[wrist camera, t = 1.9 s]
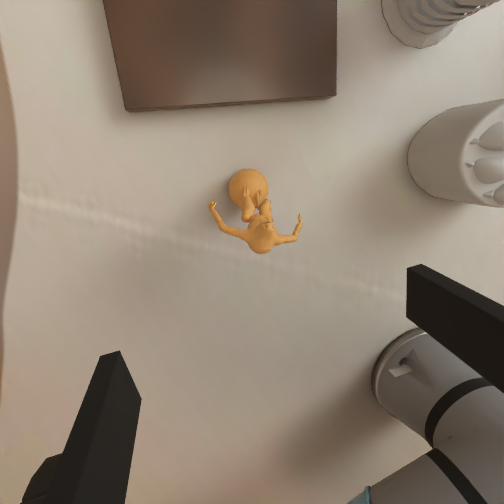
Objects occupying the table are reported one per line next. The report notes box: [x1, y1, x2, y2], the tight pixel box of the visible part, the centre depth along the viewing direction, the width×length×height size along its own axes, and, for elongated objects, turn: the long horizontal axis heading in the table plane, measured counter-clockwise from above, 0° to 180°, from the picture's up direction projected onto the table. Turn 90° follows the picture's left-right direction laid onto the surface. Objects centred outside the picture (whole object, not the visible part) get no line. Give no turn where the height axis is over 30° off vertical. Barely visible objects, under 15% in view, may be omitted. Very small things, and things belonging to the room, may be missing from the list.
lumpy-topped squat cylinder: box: [407, 99, 504, 207], centre depth 31 cm, size 10×13×9 cm
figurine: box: [208, 169, 302, 254], centre depth 27 cm, size 8×6×12 cm
